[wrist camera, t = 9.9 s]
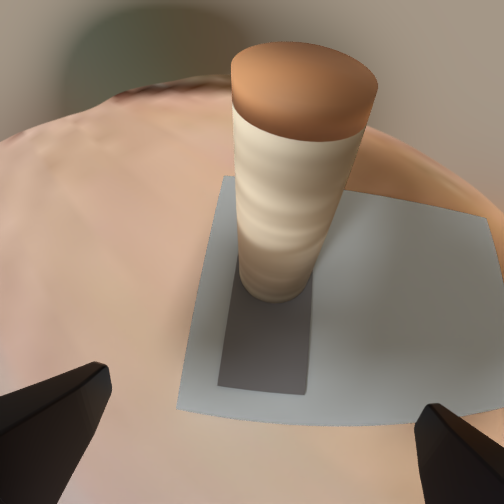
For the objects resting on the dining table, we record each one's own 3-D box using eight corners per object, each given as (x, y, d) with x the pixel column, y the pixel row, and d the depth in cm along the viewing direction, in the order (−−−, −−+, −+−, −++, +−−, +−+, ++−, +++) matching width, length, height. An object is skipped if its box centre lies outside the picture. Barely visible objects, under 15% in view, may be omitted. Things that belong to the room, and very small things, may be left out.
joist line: (303, 395, 13) (304, 395, 13) (217, 386, 13) (217, 385, 13) (313, 187, 19) (314, 184, 19) (250, 179, 19) (250, 177, 19)
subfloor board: (476, 228, 20) (486, 218, 19) (500, 407, 13) (515, 404, 12) (225, 190, 21) (224, 175, 19) (182, 409, 14) (176, 408, 13)
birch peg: (261, 316, 15) (287, 121, 5) (226, 258, 16) (206, 54, 7) (322, 281, 16) (406, 93, 6) (284, 230, 17) (316, 37, 8)
